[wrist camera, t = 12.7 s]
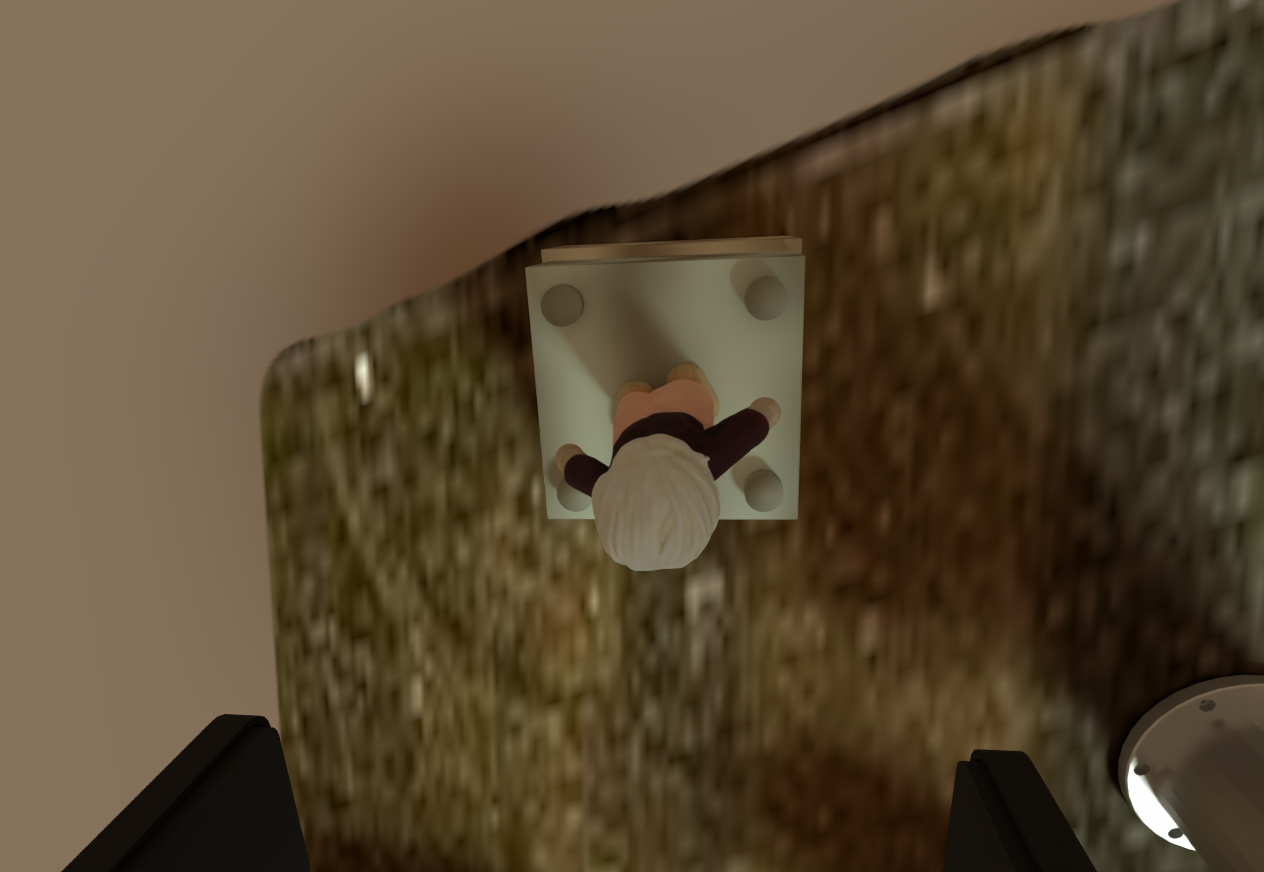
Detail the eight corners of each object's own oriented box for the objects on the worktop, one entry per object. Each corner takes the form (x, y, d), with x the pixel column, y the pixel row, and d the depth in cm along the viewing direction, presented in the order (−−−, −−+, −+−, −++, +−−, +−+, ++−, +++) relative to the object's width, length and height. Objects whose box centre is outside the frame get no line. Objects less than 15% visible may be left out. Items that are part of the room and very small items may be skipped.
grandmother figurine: (617, 477, 30) (555, 654, 18) (574, 401, 29) (478, 532, 17) (781, 401, 28) (836, 540, 16) (740, 317, 27) (766, 397, 15)
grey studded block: (789, 235, 35) (822, 242, 25) (784, 454, 39) (811, 538, 29) (562, 245, 37) (506, 256, 26) (578, 455, 40) (533, 536, 30)
